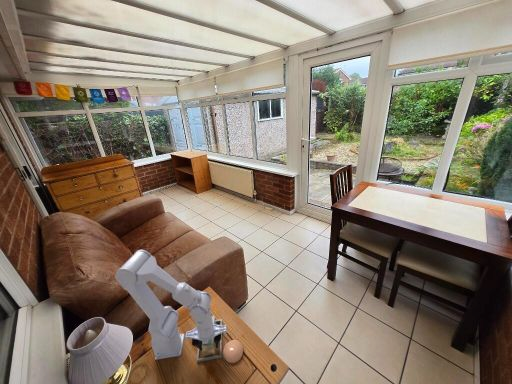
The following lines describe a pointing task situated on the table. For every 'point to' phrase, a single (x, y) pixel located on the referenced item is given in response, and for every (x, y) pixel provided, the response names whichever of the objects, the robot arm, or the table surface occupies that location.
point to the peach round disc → (233, 351)
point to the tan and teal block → (209, 347)
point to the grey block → (213, 319)
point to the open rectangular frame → (211, 356)
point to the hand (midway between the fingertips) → (209, 346)
